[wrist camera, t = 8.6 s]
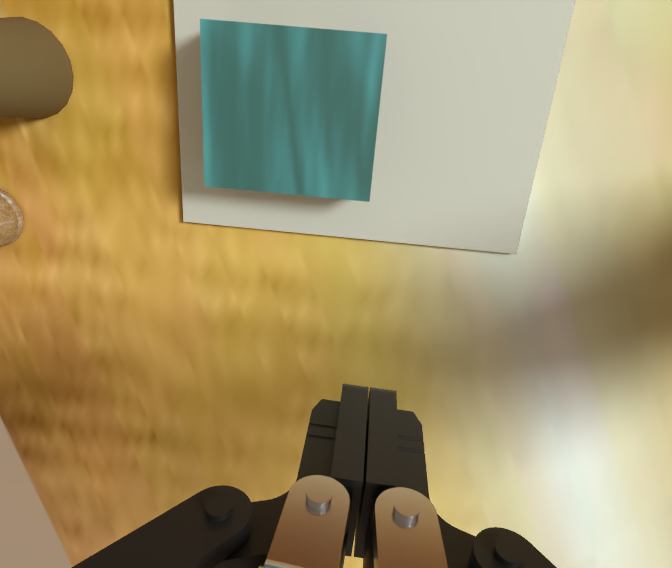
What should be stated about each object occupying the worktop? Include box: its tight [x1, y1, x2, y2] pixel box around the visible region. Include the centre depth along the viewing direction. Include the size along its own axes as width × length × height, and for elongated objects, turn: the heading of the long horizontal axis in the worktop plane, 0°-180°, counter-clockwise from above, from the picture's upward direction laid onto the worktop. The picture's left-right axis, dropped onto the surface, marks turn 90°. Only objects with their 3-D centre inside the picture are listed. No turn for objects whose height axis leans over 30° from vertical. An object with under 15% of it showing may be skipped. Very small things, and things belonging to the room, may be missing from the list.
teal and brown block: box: [200, 19, 387, 202], centre depth 30 cm, size 4×9×10 cm
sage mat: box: [173, 0, 575, 254], centre depth 32 cm, size 23×16×1 cm
